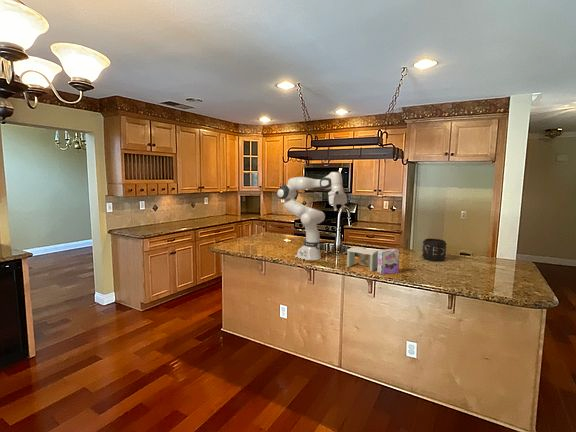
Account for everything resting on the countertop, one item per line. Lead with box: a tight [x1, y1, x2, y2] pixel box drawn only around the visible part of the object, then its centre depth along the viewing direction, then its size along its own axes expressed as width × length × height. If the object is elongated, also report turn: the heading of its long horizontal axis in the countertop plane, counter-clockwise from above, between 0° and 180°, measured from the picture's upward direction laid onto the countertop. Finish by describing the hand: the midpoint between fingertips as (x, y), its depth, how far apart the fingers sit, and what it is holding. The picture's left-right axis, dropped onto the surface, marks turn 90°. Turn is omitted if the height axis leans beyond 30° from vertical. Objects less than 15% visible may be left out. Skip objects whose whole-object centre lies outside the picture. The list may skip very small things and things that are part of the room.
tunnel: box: [346, 246, 378, 272], centre depth 251 cm, size 20×10×13 cm, turn 54°
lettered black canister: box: [421, 238, 447, 263], centre depth 276 cm, size 18×18×16 cm
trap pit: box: [350, 267, 365, 272], centre depth 246 cm, size 10×2×1 cm, turn 54°
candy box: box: [376, 248, 400, 275], centre depth 239 cm, size 14×6×16 cm, turn 105°
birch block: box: [358, 253, 370, 268], centre depth 261 cm, size 10×10×8 cm
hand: (339, 210), depth 260 cm, fingers open, 8 cm apart
